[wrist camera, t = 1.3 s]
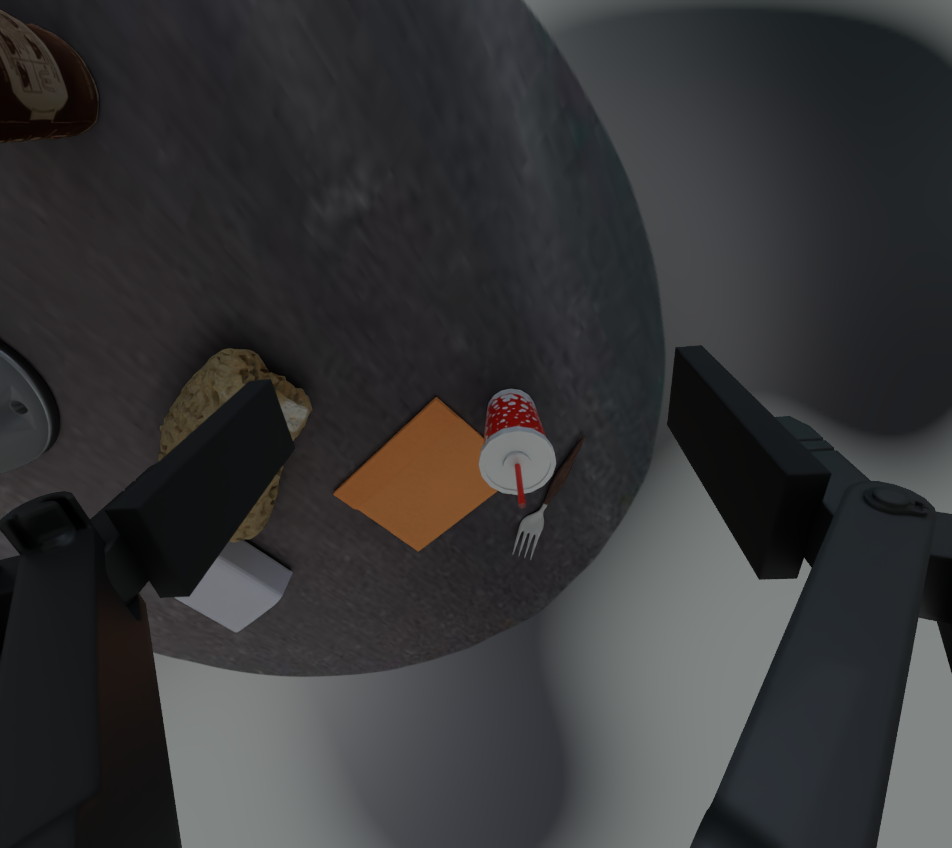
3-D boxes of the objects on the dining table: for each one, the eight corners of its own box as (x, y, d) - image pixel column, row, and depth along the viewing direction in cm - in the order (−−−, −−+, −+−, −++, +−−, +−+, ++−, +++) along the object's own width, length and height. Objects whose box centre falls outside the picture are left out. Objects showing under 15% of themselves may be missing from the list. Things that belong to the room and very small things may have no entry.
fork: (595, 436, 46) (599, 448, 45) (530, 547, 54) (532, 560, 52) (571, 428, 46) (574, 439, 44) (509, 541, 53) (510, 554, 52)
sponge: (227, 322, 42) (118, 482, 46) (208, 350, 35) (82, 534, 39) (352, 398, 48) (246, 533, 52) (355, 434, 42) (234, 585, 46)
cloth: (418, 549, 54) (418, 553, 54) (334, 490, 50) (332, 494, 49) (521, 470, 48) (522, 474, 48) (436, 396, 44) (435, 399, 44)
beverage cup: (493, 372, 43) (498, 458, 31) (553, 393, 44) (581, 485, 32) (469, 426, 46) (465, 524, 34) (527, 445, 47) (543, 547, 35)
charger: (182, 493, 50) (295, 568, 56) (139, 536, 53) (250, 602, 59) (155, 523, 46) (280, 601, 52) (110, 567, 49) (232, 636, 55)
